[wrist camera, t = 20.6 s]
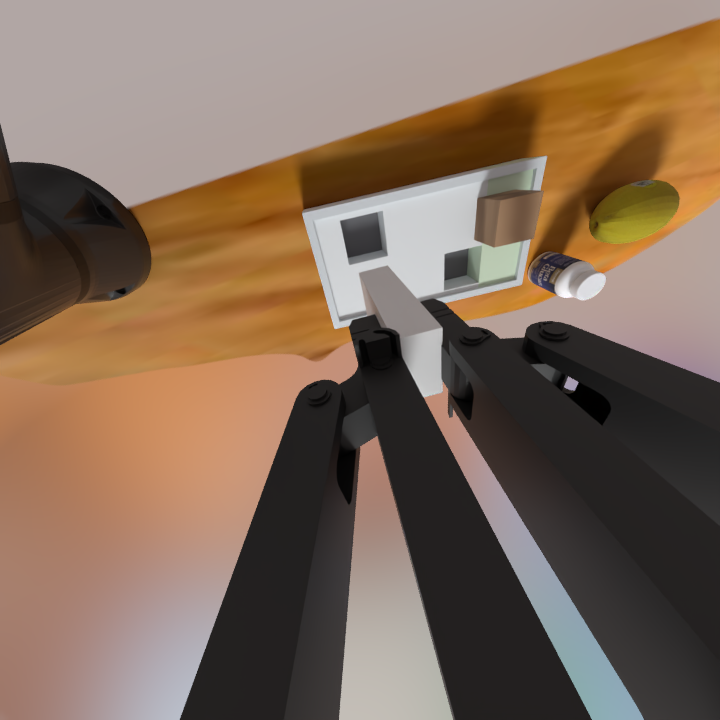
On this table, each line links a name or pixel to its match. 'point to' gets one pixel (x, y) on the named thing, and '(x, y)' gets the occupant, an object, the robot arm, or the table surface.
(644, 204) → the lemon
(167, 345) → the table surface
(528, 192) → the walnut block
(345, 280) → the board
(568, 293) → the pill bottle
